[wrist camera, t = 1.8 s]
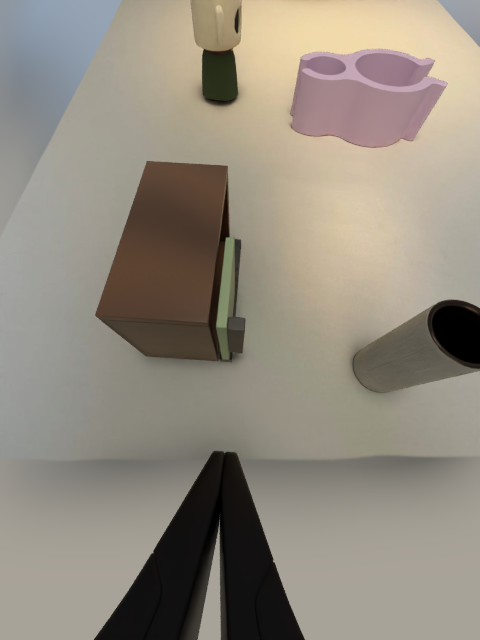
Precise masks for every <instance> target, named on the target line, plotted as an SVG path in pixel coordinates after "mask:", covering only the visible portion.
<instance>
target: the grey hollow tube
mask: <svg viewBox="0 0 480 640" xmlns="http://www.w3.org/2000/svg"><path fill="white" fill-rule="evenodd" d="M353 368H354V372H355V375H356V377H357V378H358V380H359V381H360V382H361V383H362V384H363V385H364V386H365V387H367V388H368V389H370V390H372V391H375V392H390V391H394V390H398V389H403V388H407V387H411V386H416V385H420V384H424V383H429V382H433V381H438V380H442V379H446V378H451V377H455V376H459V375H464V374H468V373H473V372H477V371H480V308H479V307H477V306H475V305H473V304H470V303H468V302H464V301H460V300H444V301H441V302H438V303H436V304H435V305H433V306H431V307H430V308H428V309H426V310H425V311H423V312H421V313H420V314H418V315H417V316H415V317H413V318H412V319H410V320H408V321H407V322H405V323H403V324H402V325H400V326H399V327H397V328H395V329H394V330H392V331H390V332H389V333H387V334H386V335H384V336H382V337H381V338H379V339H377V340H376V341H374V342H372V343H371V344H369V345H368V346H366V347H364V348H363V349H361V350H360V351H359V352H358V353H357V354H356V356H355V358H354V362H353Z"/></svg>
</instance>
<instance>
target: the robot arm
mask: <svg viewBox="0 0 480 640" xmlns="http://www.w3.org/2000/svg"><path fill="white" fill-rule="evenodd" d="M219 520H220V596H221V597H220V601H221V640H305V639H304V637H303V634H302V632H301V630H300V628H299V625H298V623H297V621H296V618H295V616H294V613H293V611H292V609H291V606H290V604H289V601H288V599H287V596H286V593H285V590H284V588H283V585H282V582H281V580H280V577H279V574H278V571H277V568H276V565H275V563H274V562H273V557H272V554H271V551H270V549H269V545H268V543H267V540H266V537H265V534H264V531H263V528H262V525H261V522H260V519H259V516H258V514H257V511H256V508H255V505H254V502H253V499H252V496H251V493H250V491H249V488H248V484H247V482H246V479H245V476H244V473H243V470H242V467H241V464H240V461H239V458H238V455H237V453H235V452H226V453H224V452H223V451H214V452H213V453H212V454H211V456H210V458H209V459H208V461H207V463H206V464H205V466H204V468H203V469H202V471H201V472H200V474H199V476H198V478H197V479H196V481H195V482H194V484H193V486H192V488H191V489H190V491H189V492H188V494H187V496H186V497H185V499H184V501H183V502H182V504H181V506H180V507H179V509H178V511H177V512H176V514H175V516H174V517H173V519H172V521H171V522H170V524H169V526H168V527H167V529H166V531H165V532H164V534H163V536H162V537H161V539H160V541H159V542H158V544H157V546H156V547H155V549H154V551H153V552H154V554H153V553H152V554H151V555H150V557H149V559H148V560H147V562H146V564H145V565H144V567H143V569H142V570H141V572H140V573H139V575H138V576H137V578H136V580H135V581H134V583H133V584H132V586H131V587H130V589H129V591H128V592H127V594H126V595H125V597H124V598H123V599H122V601H121V602H120V604H119V605H118V607H117V608H116V609H115V611H114V612H113V614H112V615H111V617H110V618H109V619H108V621H107V622H106V624H105V625H104V626H103V628H102V629H101V630H100V632H99V633H98V635H97V636H96V637H95V639H94V640H197V639H198V633H199V628H200V623H201V618H202V613H203V607H204V602H205V597H206V592H207V586H208V581H209V576H210V570H211V565H212V560H213V555H214V549H215V544H216V538H217V533H218V527H219Z"/></svg>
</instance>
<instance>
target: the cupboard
mask: <svg viewBox="0 0 480 640" xmlns="http://www.w3.org/2000/svg"><path fill="white" fill-rule="evenodd" d="M226 237H228V238H230V229H229V193H228V166H222V165H205V164H188V163H171V162H154V161H147V163H146V166H145V169H144V172H143V175H142V178H141V181H140V184H139V187H138V190H137V193H136V196H135V198H134V201H133V204H132V207H131V210H130V213H129V216H128V219H127V222H126V225H125V228H124V231H123V234H122V237H121V240H120V243H119V246H118V249H117V252H116V255H115V258H114V261H113V264H112V267H111V270H110V273H109V276H108V279H107V282H106V285H105V287H104V290H103V293H102V296H101V299H100V302H99V305H98V308H97V311H96V314H95V316H96V317H97V318H99V319H100V320H101V321H102V322H104V323H105V324H106V325H107V326H109V327H110V328H111V329H112V330H114V331H115V332H116V333H117V334H119V335H120V336H121V337H122V338H124V339H125V340H126V341H127V342H129V343H130V344H131V345H132V346H134V347H135V348H136V349H137V350H139V351H140V352H141V353H142V354H144V355H145V356H150V357H166V358H181V359H196V360H211V361H218V354H219V340H218V335H217V330H216V322H217V313H218V304H219V295H220V286H221V277H222V268H223V258H224V249H225V240H226ZM240 250H241V240H238V239H235V296H234V308H233V317H235V315H236V302H237V289H238V276H239V263H240ZM232 354H233V352H230V357H229V360H223V359H222V356H221V351H220V361H226V362H232Z"/></svg>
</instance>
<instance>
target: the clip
mask: <svg viewBox="0 0 480 640" xmlns="http://www.w3.org/2000/svg"><path fill="white" fill-rule="evenodd" d="M434 62H435V61H434V60H433V59H431V58H426V59H424V60H421V59H418V58H416V57H414V56H412V55H409V54H406V53H403V52H399V51H394V50H388V49H367V50H361V51H358V52H355V53H353V54H348V55H341V54H335V53H329V52H313V53H308V54H306V55H303V56H302V57H301V59H300V65H299V70H298V76H297V81H296V87H295V93H294V98H293V104H292V109H291V115H293V120H292V126H291V127H292V128H293V129H294V130H296V131H297V132H299V133H302V134H305V135H310V136H323V135H334V136H338V137H340V138H342V139H344V140H346V141H348V142H351V143H353V144H356V145H360V146H366V147H384V146H388V145H391V144H394V143H395V142H397V141H398V140H399V139H401V138H403V139H406V140H408V141H412V140H413V139H414V138H415V136H416V134H417V133H418V131H419V130H420V128H421V126H422V125H423V123H424V121H425V120H426V118H427V117H428V115H429V113H430V112H431V110H432V109H433V107H434V105H435V104H436V102H437V101H438V99H439V97H440V96H441V94H442V92H443V91H444V89H445V88H446V86H447V84H448V83H447V82H444V81H442V80H439V79H436V78H433V77H428V76H427V75H428V73H429V71H430V70H431V68H432V66H433V64H434Z"/></svg>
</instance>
